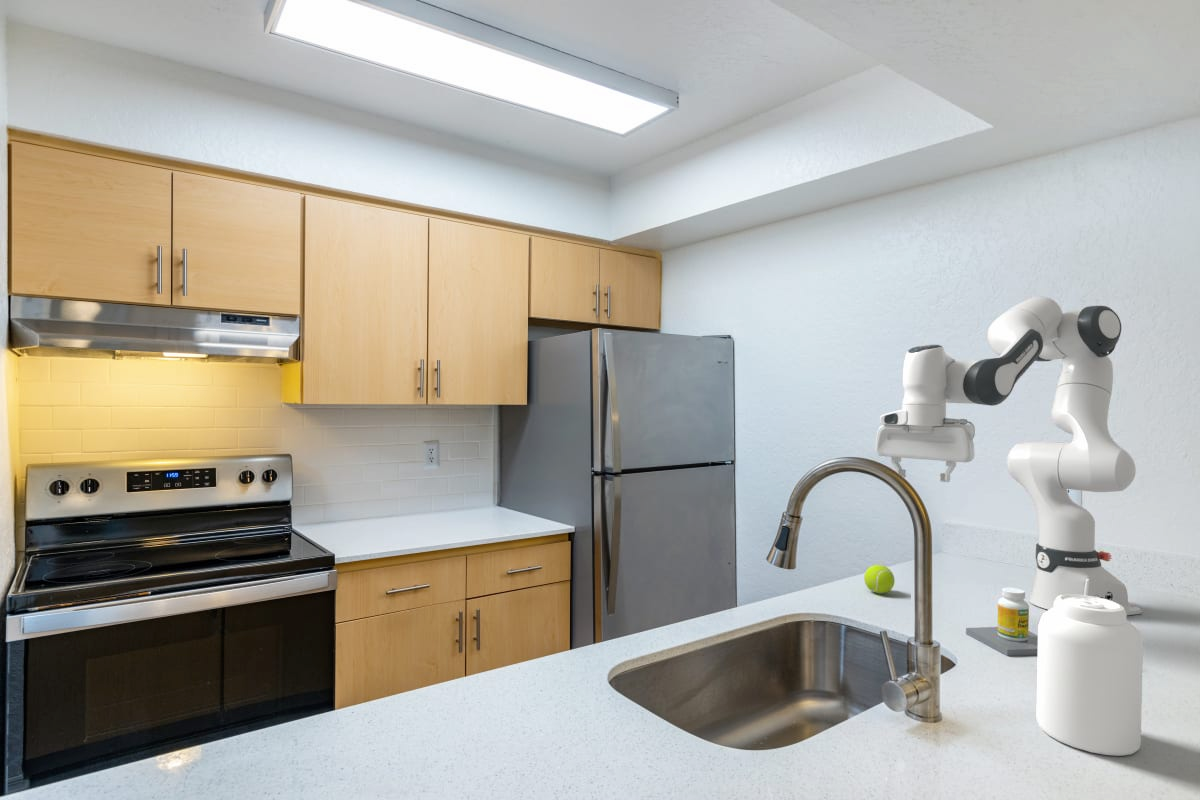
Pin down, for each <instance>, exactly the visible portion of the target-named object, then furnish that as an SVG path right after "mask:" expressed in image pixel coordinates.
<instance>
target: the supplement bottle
mask: <svg viewBox="0 0 1200 800" xmlns="http://www.w3.org/2000/svg"><path fill="white" fill-rule="evenodd" d="M1001 596H1002V597H1001V598H999V599H998V601H997V627H998V635H999V636H1000V637H1002V638H1004V639H1007V640H1011V641H1017V642H1022V641H1026V640H1028V631H1029V625H1030V624H1029V622H1030V621H1029V617H1030V616H1029V615H1030V614H1029V613H1030V605H1029V604H1028V602H1027V601H1025V599H1026V591H1025V590H1023V589H1020V588H1017V587H1003V588H1002V589H1001Z"/></svg>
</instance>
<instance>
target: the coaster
mask: <svg viewBox="0 0 1200 800" xmlns="http://www.w3.org/2000/svg"><path fill="white" fill-rule="evenodd" d="M965 628H966V629H965V634H966V635H968V636H969V637H972V638H973V639H975V640H977V641H979V642H980V643H983V644H984V645H986V646H988V647H990V648H991V649H993V650H995V651H997V652H999V653H1001V654H1002V655H1005V656H1006V657H1015V656H1019V657H1020V656H1037V654H1038V634H1036V633H1034V632H1032V631H1029V630H1028V640H1026V641H1022V642H1017V641H1011V640H1007V639H1004V638H1002V637H1000V636H999V635H998V626H989V627H988V626H987V627H985V626H984V627H982V626H981V627H965Z"/></svg>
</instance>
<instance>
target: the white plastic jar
mask: <svg viewBox="0 0 1200 800" xmlns="http://www.w3.org/2000/svg"><path fill="white" fill-rule="evenodd" d="M1127 617H1128V615H1127V613H1126V611H1125V609H1124V607H1123V606H1121V605H1120V604H1117V603H1115V602H1113V601H1110V600H1107V599H1103V598H1099V597H1093V596H1088V595H1078V594H1067V595H1060V596H1057V598H1056V600H1055V601H1054V608H1051V609H1050V610H1048V609H1047V610H1046V611H1045V612H1043V613H1042V615H1041V616H1040V618H1039V619H1040V620H1039V623H1038V626H1037V635H1038V654H1037V655H1036V656H1037V659H1036V660H1037V661H1036V662H1037V663H1036V670H1037V671H1036V709H1035V710H1036V712H1035V713H1036V715H1035V719H1036V721H1037V724H1038V725H1039V728H1040V729H1041V730H1042V731H1043V732H1044V733H1045V734H1046V735H1048V737H1051V738H1053V739H1054V740H1056V741H1058V742H1060V743H1062V744H1065V745H1067V746H1069V747H1073V748H1074V749H1078V750H1082V751H1086V752H1088V753H1095V754H1098V755H1099V754H1100V755H1104V756H1118V757H1119V756H1130V755H1133V754H1135V753H1136V752H1138V751H1139V750H1140V748H1141V744H1142V743H1141V742H1142V708H1143V707H1142V703H1143V701H1142V700H1143V664H1144V662H1143V656H1144V654H1143V653H1144V642H1143V639H1142V635H1141V632H1140V630H1138V629H1137V627H1135V626H1134V624H1132V623H1131V622H1130V621H1129V620H1128V619H1127Z"/></svg>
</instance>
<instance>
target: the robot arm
mask: <svg viewBox="0 0 1200 800" xmlns="http://www.w3.org/2000/svg"><path fill="white" fill-rule="evenodd" d="M1121 332H1122V322H1121V319H1120V317H1119V315H1118V314H1117V312H1115V311H1114V310H1113V309H1112V308H1111V307H1109V306H1107V305H1091V306H1090V305H1089V306H1086V307H1084V308H1079V309H1073V310H1068V311H1062V308H1061V307H1060V305H1059V304H1058V302H1056V301H1055V300H1054V299H1052V298H1050V297H1048V296H1033V297H1031V298H1028V299H1026V300H1023V301H1021V302H1019V303H1017V304H1015V305H1013V306H1012V307H1011V308H1009V309H1007V310H1005V312H1003V313H1002V314H1001V315H999V316H998V317H996V319H994V320H993V322H992V323H991V324H990V325H989V327H988V329H987V341H988V344H989V347H990V348H991V350H992V351H993V353H995V354H996V355H997V357H995V358H992V357H991V358H983V359H971V360H969V359H968V360H956V358H953V357H951V356H950V355H948V354H947V353H946V352H945V349H944V346H942V345H940V344H928V345H919V346H915V347H912V348H910V349H908V350H907V351H906V353H905V357H904V361H903V365H902V388H903V394H904V395H903V399H902V402H901V403H902V404H901V409H900V410H895V411H892V412H888V413H885V414H882V415H880V416H879V423H880V424H881V425H880V426H879V428H878V429H877V430H876V431H877V432H876V436H875V444H874V445H875V447H874V448H875V449H874V450H875V453H876V454H877V456H879V457H885V458H886V457H887V458H888V457H889V458H891V459H890V461H891V464H892V466H893V467H894V469H895V470H896V471H895V473H896V472H897V473H899V474H900V475H901V476H903V477H904V478H906V476H907V475H906V473H907V469H903V468H902V466H901V462H902V459H903V458H904V459H914V460H915V459H916V460H929V461H941V462H945V466H946V467H947V468H946V469H945V472H942V473H939V475H940V478H939V480H940V482H944V483H949V482H950V481H951V474H952V472H953V471H954V470H955V468H956V467H957V463H970V462H972V461H973V460H974V458H975V446H974V445H975V444H974V438H975V435H976V433H975V432H976V429H975V425H974V424H973V422H971V421H969V420H968V419H966V418H947V416H946V415H947V403H948V404H970V405H973V404H977V405H982V406H983V405H984V406H991V407H993V406H998V405H1000V404H1002V403H1003V402H1004V401H1005V400H1007V398H1009V397H1010V394H1011V393H1012V391H1013V390H1014V387H1015V385H1016V383H1017V382H1018V381H1019V379H1020V378H1021V377H1022V376H1023V375H1024V374H1025V373H1026V371H1027V370H1028V369H1029V368H1030V367H1031V366H1032V365H1033V364H1034V363H1035V362H1051V361H1053V360H1061V362H1062V367H1063V368H1062V370H1061V373H1060V376H1059V379H1058V381H1057V384H1056V385H1057V386H1056V388H1055V393H1054V399H1053V402H1052V406H1051V411H1050V417H1051V421H1052V422H1053V424H1054V425H1055V426H1056V427H1057V428H1058V429H1060V430H1061V431H1064V432H1065V433H1068V434H1070V435H1071V436H1073V438H1072V440H1071V442H1058V441H1057V442H1056V441H1042V440H1036V441H1027V442H1026V441H1025V442H1020V443H1019V442H1018V443H1016V444H1015V445H1014V446H1012V448H1011V449H1010V450H1009V452H1008V454H1007V456H1006V468H1007V471H1008V473H1009V474H1010V477H1012V478H1013V479H1014V480H1015V481H1016V482H1017V483H1019V484H1020V485H1021V487H1022V488H1023V489H1025V491H1026V492H1027V493H1028V494H1029V497H1030V498H1031V500H1032V502H1033V503H1034V504H1033V505H1034V506H1035V510H1036V515H1037V516H1036V517H1037V532H1038V533H1037V535H1038V536H1037V537H1038V538H1037V539H1038V540H1037V541H1038V542H1037V543H1036V544H1035V561H1036V570H1035V575H1034V580H1033V586H1032V589H1031V593H1030V596H1029V598H1028V601H1029V602H1030V603H1031V604H1032V605H1034V606H1036V607H1039V608H1042V609H1045V610H1047V611H1048V610H1050V609H1051V608H1054V601H1055V600H1056V598H1057V596H1060V595H1067V594H1078V595H1088V596H1093V597H1099V598H1103V599H1107V600H1110V601H1113V602H1115V603H1117V604H1120V605H1121V606H1123V607H1124V609H1125V611H1126V613H1127V616H1131V615H1133V616H1134V615H1140V614H1142V610H1141V607H1138V606H1137V605H1135V604H1133V603H1131V602H1129V595H1128V590H1127V587H1126V585H1125V583H1123V582H1122V581H1121V580H1120V579H1118V578H1117V577H1115V576H1114V575H1113V574H1112V573H1111V572H1109V571H1108V570H1107V569H1106V568H1105V567H1103V566H1102V561H1105V562H1109V561H1111V559H1112V554H1111V553H1110V552H1105V551H1104V550H1101V551H1097V550H1096V549H1095V541H1096V540H1095V536H1096V522H1095V518H1094V517H1093V515H1092V513H1091V512H1089V511H1088V509H1086V508H1085V507H1083V506H1081V505H1079V504H1077V503H1075V502H1074V501H1073V500H1072V499H1071V497H1070V496H1069V493H1068V490H1073V491H1082V492H1093V493H1110V492H1111V493H1112V492H1113V493H1114V492H1123V491H1125V490H1126V489H1127V488H1129V487H1130V486H1131V484H1132V483H1133V481H1134V479H1135V476H1136V464H1135V461H1134V459H1133V458H1132V456H1131V454H1130V453H1128V452H1127V451H1126V450H1125V449H1124V448H1122V447H1121V446H1119V444H1118V443H1116V441H1114V439H1113V438H1112V435H1111V434H1110V431H1109V428H1108V419H1109V418H1108V417H1109V409H1110V403H1111V397H1112V393H1113V392H1112V391H1113V383H1114V371H1113V363H1112V360H1111V358H1109V355H1110V354H1112V353H1113V351H1114V350H1115V347H1116V345H1117V344H1118V342H1119V339H1120V337H1121ZM904 478H903V479H904Z"/></svg>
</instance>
